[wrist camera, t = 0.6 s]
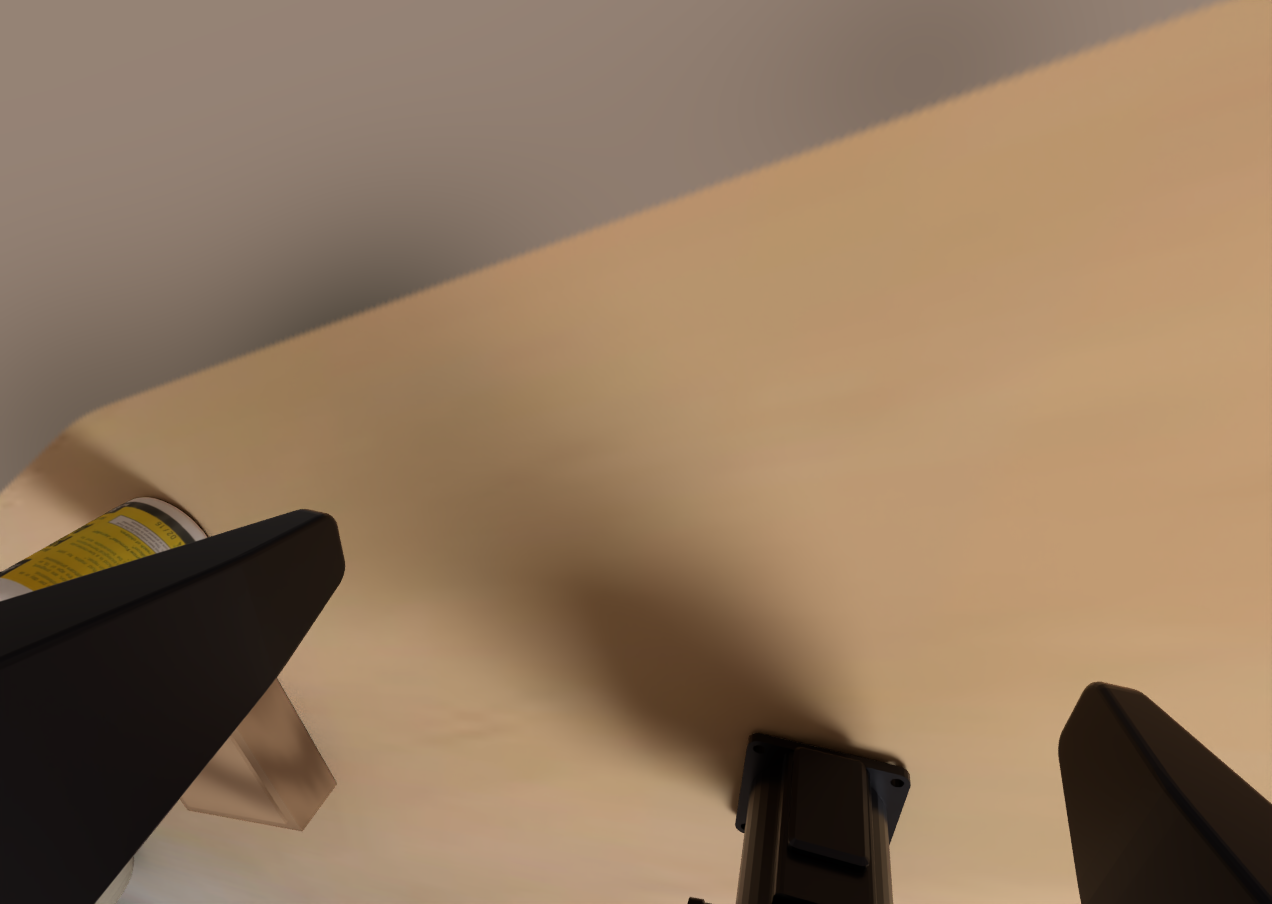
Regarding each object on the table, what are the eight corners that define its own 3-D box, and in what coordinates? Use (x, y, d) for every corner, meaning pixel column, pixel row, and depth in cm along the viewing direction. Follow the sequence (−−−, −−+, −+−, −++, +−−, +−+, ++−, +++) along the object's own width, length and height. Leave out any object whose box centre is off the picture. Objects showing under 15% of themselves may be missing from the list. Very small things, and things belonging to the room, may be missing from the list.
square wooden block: (336, 784, 39) (300, 833, 37) (227, 767, 42) (185, 812, 40) (274, 675, 35) (229, 721, 33) (158, 665, 38) (107, 707, 36)
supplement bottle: (134, 472, 31) (-127, 611, 22) (231, 539, 31) (9, 700, 23) (120, 539, 33) (-116, 684, 25) (209, 599, 34) (6, 762, 26)
